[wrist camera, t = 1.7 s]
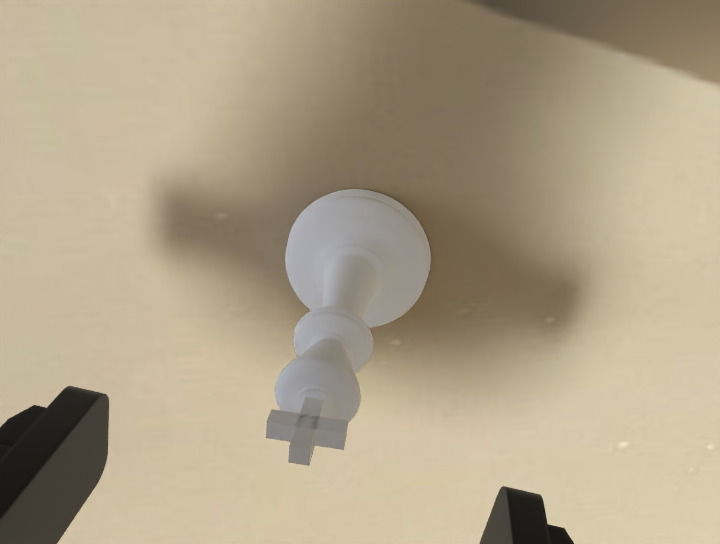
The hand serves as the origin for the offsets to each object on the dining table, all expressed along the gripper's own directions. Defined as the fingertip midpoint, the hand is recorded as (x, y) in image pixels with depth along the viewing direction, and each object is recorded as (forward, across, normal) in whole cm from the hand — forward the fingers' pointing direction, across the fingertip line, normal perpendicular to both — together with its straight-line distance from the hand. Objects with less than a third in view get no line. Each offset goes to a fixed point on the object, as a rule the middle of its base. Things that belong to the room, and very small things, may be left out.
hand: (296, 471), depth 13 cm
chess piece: (+10, 0, 0) cm, 11 cm away
